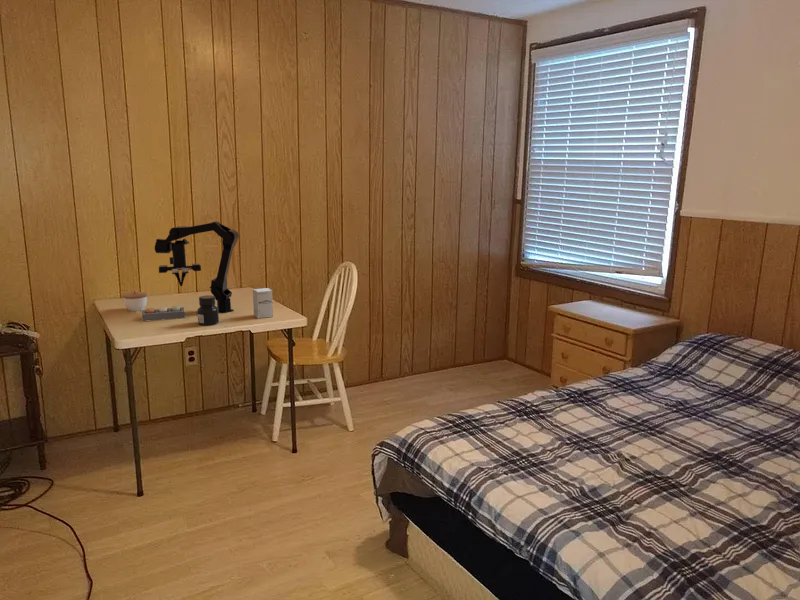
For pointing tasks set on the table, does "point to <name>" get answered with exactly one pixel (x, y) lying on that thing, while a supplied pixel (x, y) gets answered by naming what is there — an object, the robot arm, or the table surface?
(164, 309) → the cream button
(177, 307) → the sage button
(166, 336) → the table surface
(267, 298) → the supplement box
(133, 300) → the lidded jar
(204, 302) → the ink bottle
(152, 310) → the terracotta button
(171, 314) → the button panel
